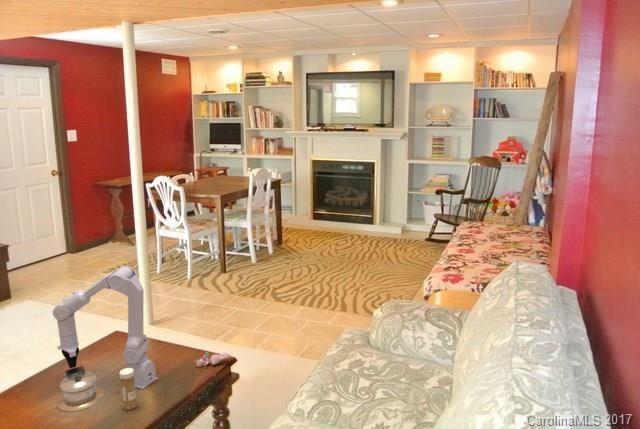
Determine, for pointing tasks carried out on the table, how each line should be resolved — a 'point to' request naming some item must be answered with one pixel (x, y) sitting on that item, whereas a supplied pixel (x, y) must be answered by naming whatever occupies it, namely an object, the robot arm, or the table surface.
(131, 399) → the sprinkles bottle
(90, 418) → the table surface
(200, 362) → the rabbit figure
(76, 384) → the cooker lid
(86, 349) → the table surface
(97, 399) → the cooker pot
